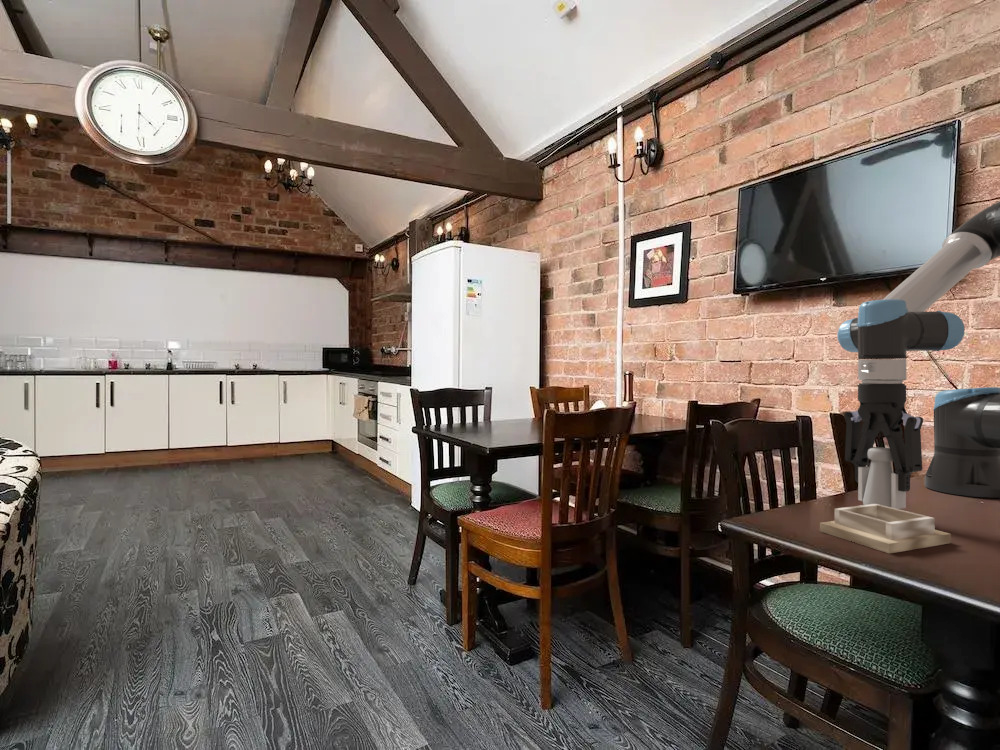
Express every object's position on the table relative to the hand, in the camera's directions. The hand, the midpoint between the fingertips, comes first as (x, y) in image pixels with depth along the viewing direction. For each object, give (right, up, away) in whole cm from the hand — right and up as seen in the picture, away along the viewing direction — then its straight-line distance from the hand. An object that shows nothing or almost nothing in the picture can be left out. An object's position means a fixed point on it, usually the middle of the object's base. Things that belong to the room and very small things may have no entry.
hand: (881, 503), depth 103 cm
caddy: (-8, -3, -12) cm, 15 cm away
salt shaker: (0, -3, 0) cm, 3 cm away
